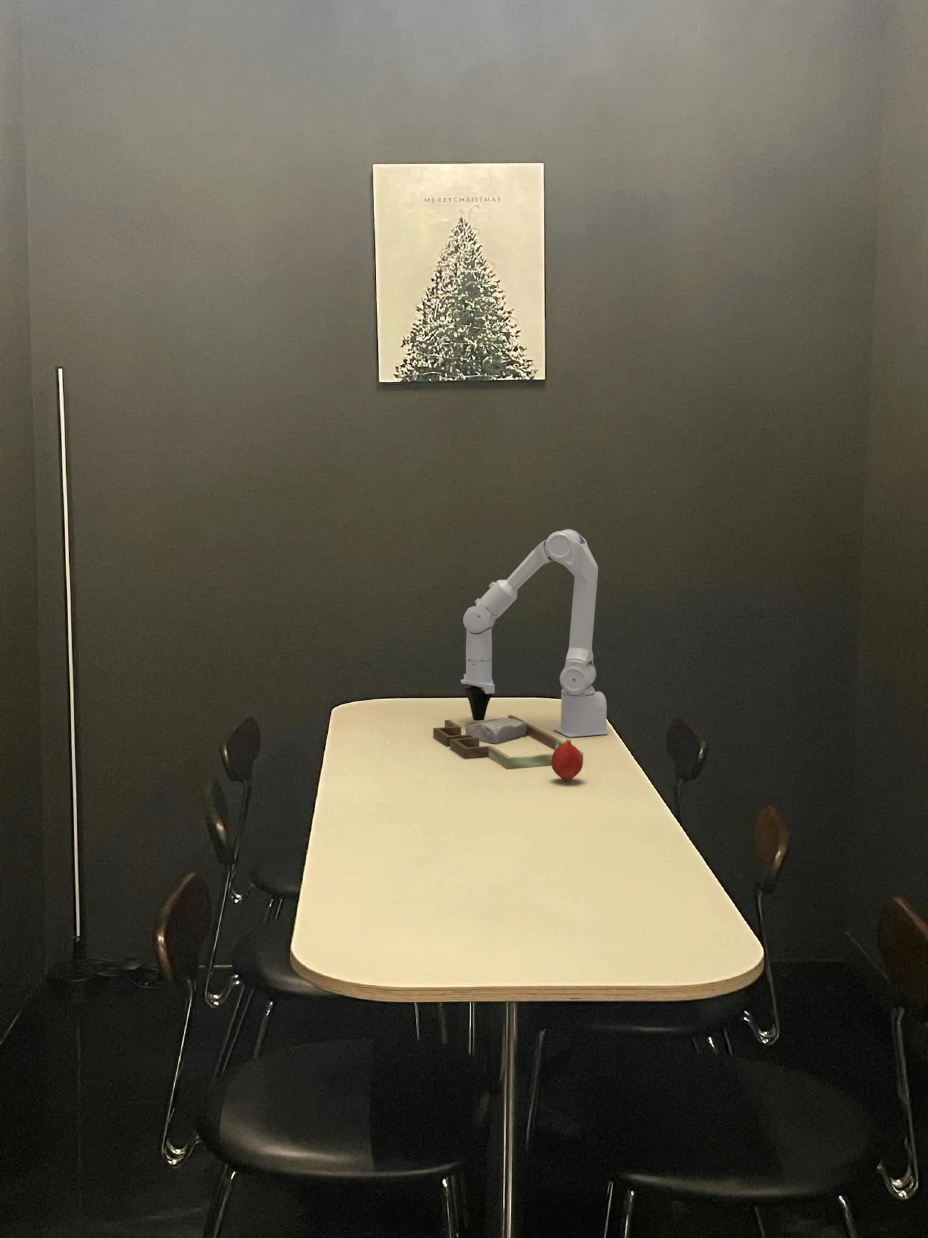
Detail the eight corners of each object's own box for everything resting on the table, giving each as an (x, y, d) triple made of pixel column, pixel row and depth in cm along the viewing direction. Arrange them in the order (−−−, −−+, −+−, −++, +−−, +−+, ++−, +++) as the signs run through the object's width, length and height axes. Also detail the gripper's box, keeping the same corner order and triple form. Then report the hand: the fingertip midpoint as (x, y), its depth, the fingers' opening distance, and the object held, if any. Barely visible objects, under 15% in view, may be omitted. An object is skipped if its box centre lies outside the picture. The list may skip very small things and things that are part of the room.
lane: (512, 724, 270) (512, 715, 270) (583, 762, 236) (583, 752, 236) (423, 730, 263) (423, 721, 263) (482, 771, 229) (482, 760, 229)
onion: (545, 783, 220) (546, 740, 219) (558, 776, 226) (559, 734, 224) (575, 787, 218) (576, 743, 217) (587, 779, 223) (588, 737, 222)
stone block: (461, 747, 256) (499, 745, 250) (458, 725, 256) (496, 722, 250) (494, 740, 265) (531, 737, 259) (492, 718, 265) (528, 715, 259)
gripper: (451, 655, 271) (450, 714, 273) (473, 665, 258) (472, 728, 260) (480, 654, 274) (480, 712, 276) (503, 664, 260) (503, 725, 262)
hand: (478, 720), depth 268 cm, fingers closed
